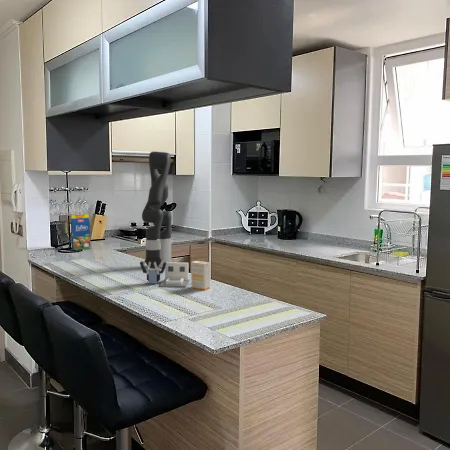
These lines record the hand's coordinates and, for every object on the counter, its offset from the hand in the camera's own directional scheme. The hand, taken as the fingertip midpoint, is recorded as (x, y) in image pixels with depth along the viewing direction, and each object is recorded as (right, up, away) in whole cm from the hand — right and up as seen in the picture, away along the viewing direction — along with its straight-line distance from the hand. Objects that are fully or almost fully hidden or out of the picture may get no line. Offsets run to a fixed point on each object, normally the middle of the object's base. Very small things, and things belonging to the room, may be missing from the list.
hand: (153, 281), depth 234 cm
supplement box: (+25, -3, -9) cm, 26 cm away
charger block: (0, -1, 0) cm, 1 cm away
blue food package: (-67, +11, +97) cm, 119 cm away
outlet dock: (+11, -1, -1) cm, 11 cm away
